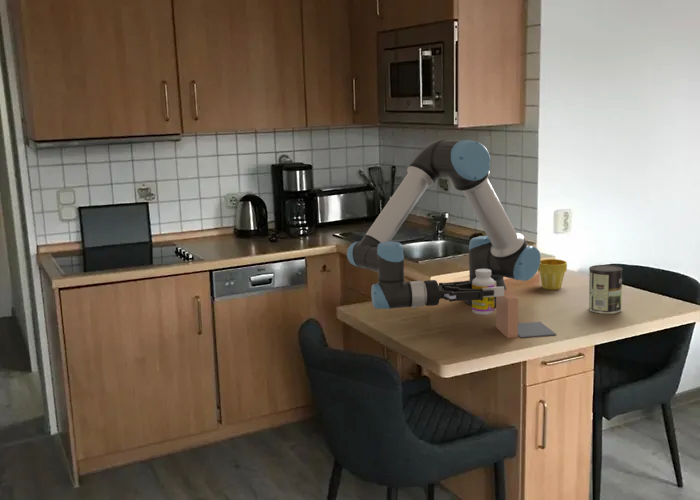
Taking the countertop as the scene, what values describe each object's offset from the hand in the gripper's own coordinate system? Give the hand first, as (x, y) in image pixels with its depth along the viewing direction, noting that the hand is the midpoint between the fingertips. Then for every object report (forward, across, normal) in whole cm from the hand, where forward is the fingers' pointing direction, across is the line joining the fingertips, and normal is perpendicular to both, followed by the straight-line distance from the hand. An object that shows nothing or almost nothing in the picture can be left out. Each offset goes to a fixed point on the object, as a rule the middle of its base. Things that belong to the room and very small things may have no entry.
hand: (499, 288), depth 226 cm
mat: (+10, 0, -14) cm, 17 cm away
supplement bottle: (-5, 0, -7) cm, 9 cm away
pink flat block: (+2, 0, -14) cm, 14 cm away
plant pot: (+36, -48, -14) cm, 61 cm away
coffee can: (+41, -16, -14) cm, 46 cm away
